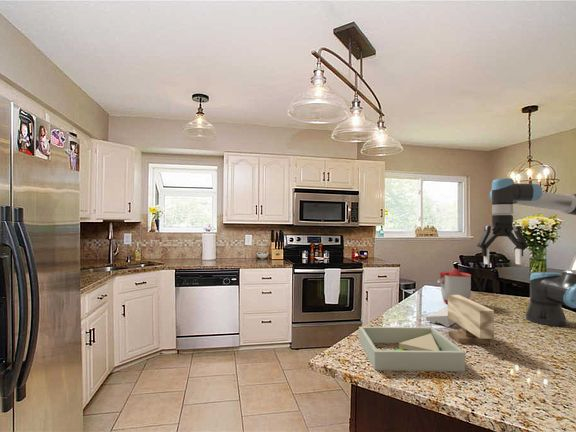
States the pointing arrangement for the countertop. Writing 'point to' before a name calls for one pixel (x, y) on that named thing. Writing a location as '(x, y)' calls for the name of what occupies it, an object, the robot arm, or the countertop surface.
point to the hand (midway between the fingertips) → (502, 264)
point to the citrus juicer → (455, 284)
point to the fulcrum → (467, 337)
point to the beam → (471, 316)
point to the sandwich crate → (410, 360)
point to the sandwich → (420, 344)
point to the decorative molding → (440, 317)
